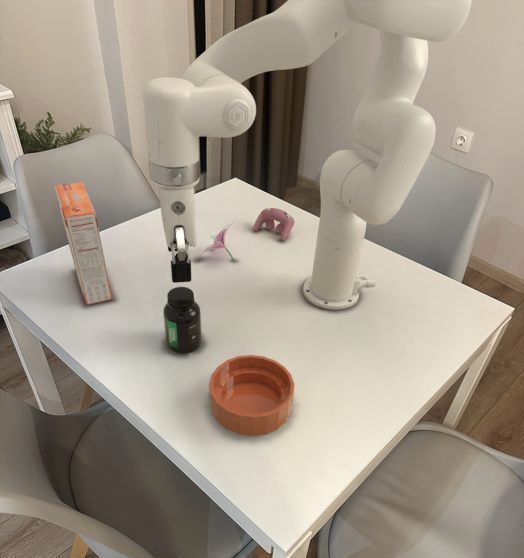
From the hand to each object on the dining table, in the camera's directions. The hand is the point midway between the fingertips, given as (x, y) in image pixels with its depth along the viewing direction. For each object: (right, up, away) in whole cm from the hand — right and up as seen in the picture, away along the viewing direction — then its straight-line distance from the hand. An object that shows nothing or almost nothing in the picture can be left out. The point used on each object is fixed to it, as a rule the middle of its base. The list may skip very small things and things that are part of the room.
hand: (179, 265), depth 90 cm
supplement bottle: (-1, -14, +12) cm, 18 cm away
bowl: (+13, -25, +1) cm, 28 cm away
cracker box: (-23, -1, +24) cm, 33 cm away
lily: (+4, +8, +35) cm, 36 cm away
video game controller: (+17, +16, +45) cm, 51 cm away
